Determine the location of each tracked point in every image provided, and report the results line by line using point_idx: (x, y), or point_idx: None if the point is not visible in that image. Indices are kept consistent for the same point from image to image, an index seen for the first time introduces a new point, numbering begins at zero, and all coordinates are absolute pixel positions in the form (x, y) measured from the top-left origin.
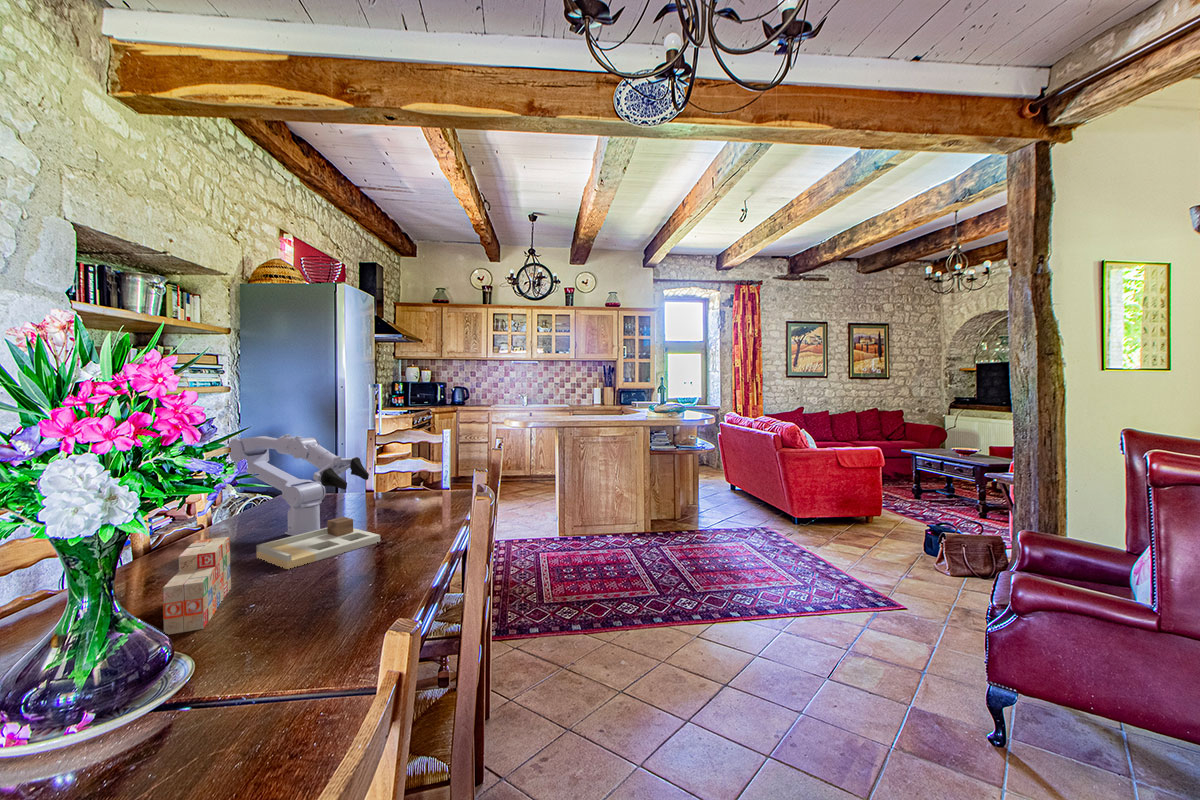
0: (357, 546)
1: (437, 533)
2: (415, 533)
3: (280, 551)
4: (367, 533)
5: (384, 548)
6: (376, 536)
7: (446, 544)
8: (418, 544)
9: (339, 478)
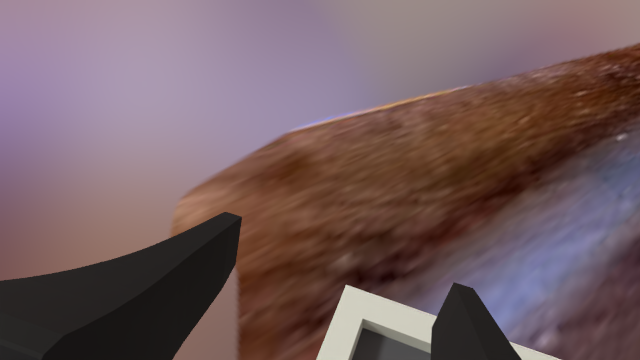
0: None
1: (244, 183)
2: (245, 238)
3: None
4: (336, 349)
5: (405, 243)
6: (361, 291)
7: (334, 129)
8: (347, 180)
9: (495, 343)
